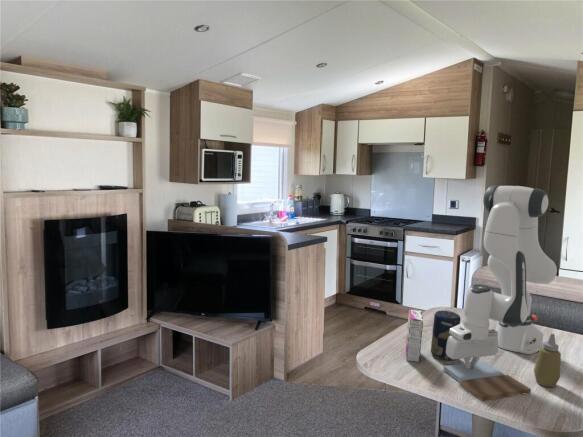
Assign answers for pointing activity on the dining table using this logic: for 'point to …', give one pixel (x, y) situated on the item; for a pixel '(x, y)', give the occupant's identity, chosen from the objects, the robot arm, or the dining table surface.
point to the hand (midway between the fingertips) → (470, 368)
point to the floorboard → (495, 387)
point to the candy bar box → (414, 335)
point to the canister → (442, 332)
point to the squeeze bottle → (548, 363)
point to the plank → (472, 371)
